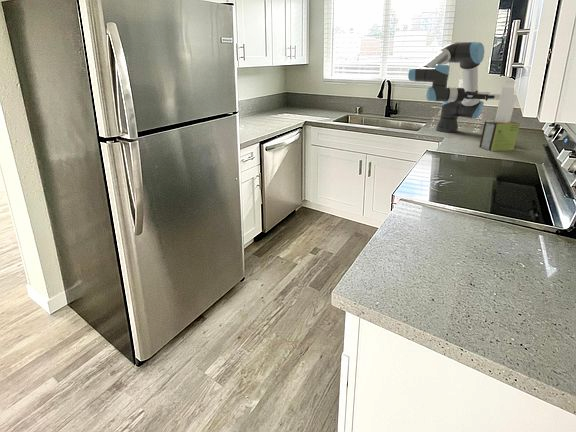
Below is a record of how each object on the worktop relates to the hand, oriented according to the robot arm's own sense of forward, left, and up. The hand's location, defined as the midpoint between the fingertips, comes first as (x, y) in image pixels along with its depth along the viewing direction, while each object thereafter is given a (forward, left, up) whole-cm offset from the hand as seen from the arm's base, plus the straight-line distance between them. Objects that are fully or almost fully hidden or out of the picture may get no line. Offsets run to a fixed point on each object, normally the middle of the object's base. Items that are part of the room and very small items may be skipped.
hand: (494, 95), depth 208 cm
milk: (0, +8, -14) cm, 16 cm away
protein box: (0, +8, -30) cm, 31 cm away
